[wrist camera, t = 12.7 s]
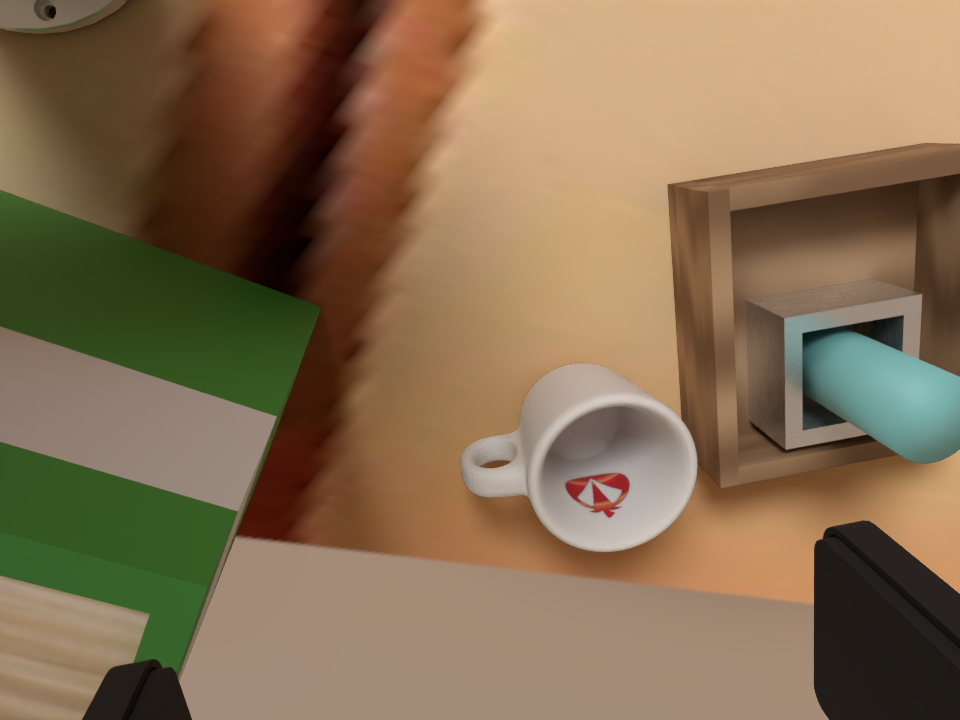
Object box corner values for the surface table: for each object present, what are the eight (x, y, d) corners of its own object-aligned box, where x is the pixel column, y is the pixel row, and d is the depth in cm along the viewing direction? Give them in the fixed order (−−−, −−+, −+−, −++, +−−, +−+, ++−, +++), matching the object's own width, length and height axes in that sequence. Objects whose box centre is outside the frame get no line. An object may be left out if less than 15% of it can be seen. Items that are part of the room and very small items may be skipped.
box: (667, 184, 37) (707, 192, 32) (925, 143, 38) (1001, 144, 33) (683, 447, 42) (720, 488, 37) (912, 405, 43) (977, 439, 38)
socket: (745, 299, 38) (784, 318, 35) (870, 278, 39) (922, 294, 35) (748, 419, 41) (785, 449, 37) (867, 398, 41) (915, 425, 37)
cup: (464, 498, 41) (480, 580, 34) (442, 367, 39) (454, 424, 31) (647, 464, 42) (703, 537, 34) (637, 333, 39) (696, 381, 32)
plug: (770, 322, 39) (891, 383, 29) (841, 310, 39) (984, 366, 30) (771, 391, 40) (888, 471, 31) (840, 378, 40) (976, 453, 31)
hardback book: (-82, 318, 35) (-966, 667, 12) (-50, 171, 33) (-1014, 260, 10) (275, 432, 39) (109, 860, 16) (321, 307, 37) (207, 587, 14)
